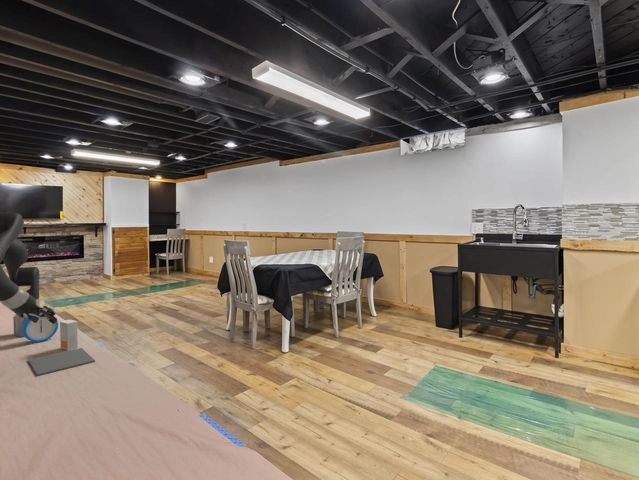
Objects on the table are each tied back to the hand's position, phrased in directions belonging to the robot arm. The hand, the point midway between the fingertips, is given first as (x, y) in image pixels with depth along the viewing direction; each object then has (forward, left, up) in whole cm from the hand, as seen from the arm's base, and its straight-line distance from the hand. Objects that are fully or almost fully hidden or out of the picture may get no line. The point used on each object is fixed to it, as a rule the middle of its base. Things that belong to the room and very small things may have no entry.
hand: (46, 321), depth 142 cm
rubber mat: (+9, -5, -15) cm, 18 cm away
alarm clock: (-18, +20, -15) cm, 31 cm away
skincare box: (+2, +10, -15) cm, 18 cm away
